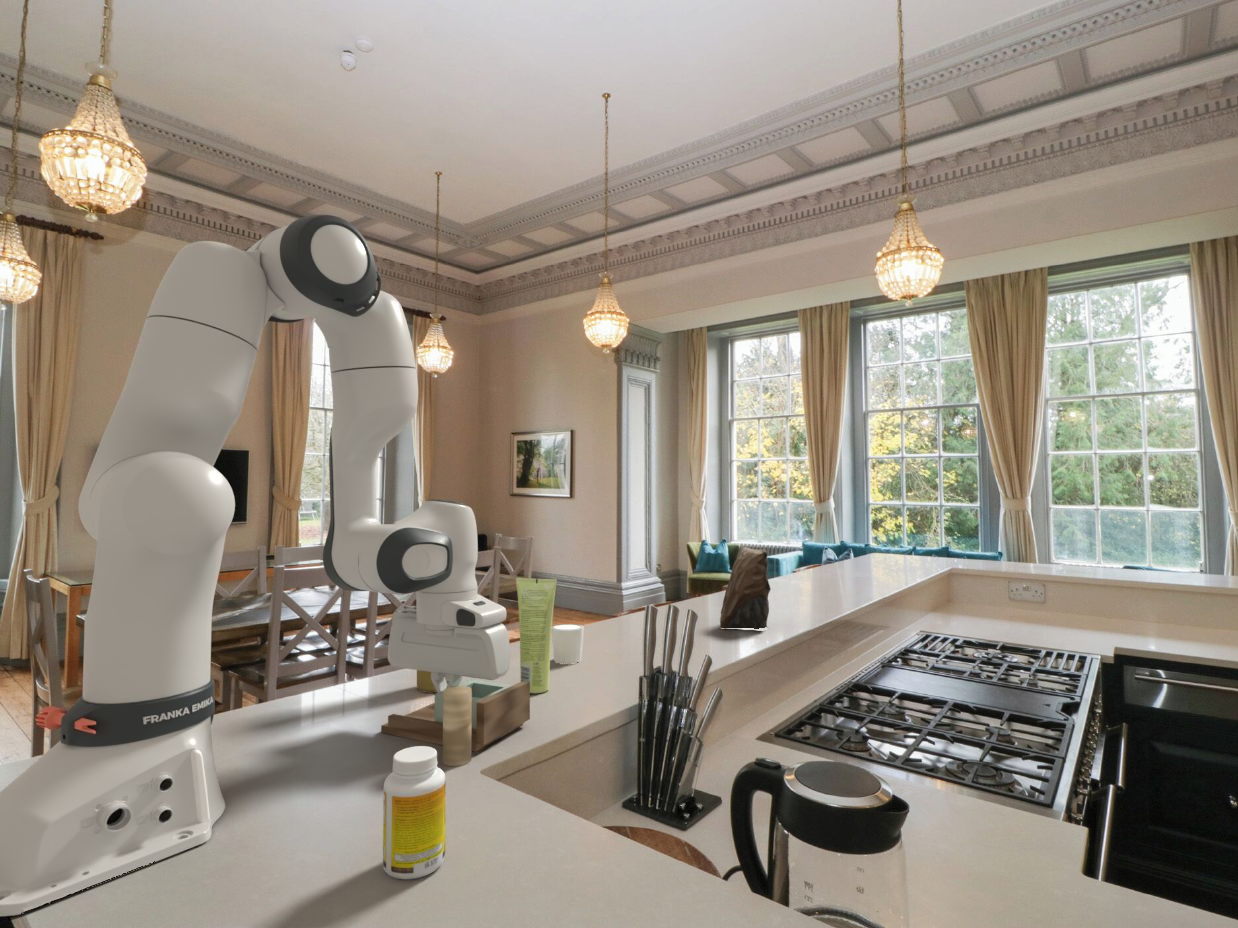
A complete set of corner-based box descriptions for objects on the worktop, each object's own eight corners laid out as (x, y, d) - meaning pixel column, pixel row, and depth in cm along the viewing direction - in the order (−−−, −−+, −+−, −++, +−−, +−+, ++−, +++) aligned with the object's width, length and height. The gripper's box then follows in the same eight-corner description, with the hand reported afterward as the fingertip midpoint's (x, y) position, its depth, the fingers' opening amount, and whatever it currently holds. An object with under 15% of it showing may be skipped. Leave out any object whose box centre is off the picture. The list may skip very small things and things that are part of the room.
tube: (545, 684, 120) (545, 575, 121) (557, 691, 115) (557, 578, 116) (515, 688, 117) (515, 577, 118) (526, 696, 112) (527, 580, 113)
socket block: (482, 739, 90) (482, 702, 90) (434, 730, 94) (434, 694, 94) (517, 720, 98) (517, 685, 98) (471, 712, 101) (471, 679, 101)
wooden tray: (483, 752, 88) (483, 703, 88) (381, 732, 96) (381, 687, 96) (529, 725, 98) (529, 681, 99) (433, 709, 106) (433, 668, 106)
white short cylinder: (547, 658, 138) (547, 624, 139) (579, 655, 140) (579, 622, 141) (554, 666, 132) (554, 631, 132) (588, 663, 134) (588, 628, 134)
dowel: (459, 767, 83) (459, 695, 84) (436, 763, 85) (437, 692, 85) (477, 757, 87) (477, 687, 87) (455, 753, 88) (455, 684, 89)
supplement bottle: (456, 864, 62) (457, 752, 62) (402, 890, 58) (403, 771, 58) (425, 842, 66) (426, 737, 66) (371, 866, 62) (372, 754, 62)
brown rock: (736, 620, 178) (735, 545, 179) (782, 625, 171) (781, 547, 172) (717, 628, 167) (716, 549, 168) (765, 634, 160) (764, 551, 161)
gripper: (378, 607, 100) (377, 699, 99) (490, 617, 92) (490, 718, 91) (407, 600, 106) (406, 688, 105) (516, 609, 97) (515, 705, 97)
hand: (446, 702), depth 98 cm, fingers closed
